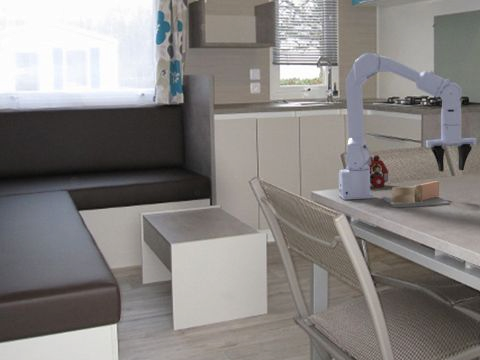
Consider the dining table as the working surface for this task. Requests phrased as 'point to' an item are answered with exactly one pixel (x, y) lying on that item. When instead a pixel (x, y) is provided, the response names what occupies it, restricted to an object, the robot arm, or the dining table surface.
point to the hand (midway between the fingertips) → (451, 170)
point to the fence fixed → (406, 194)
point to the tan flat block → (429, 190)
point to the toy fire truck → (377, 172)
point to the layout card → (423, 202)
